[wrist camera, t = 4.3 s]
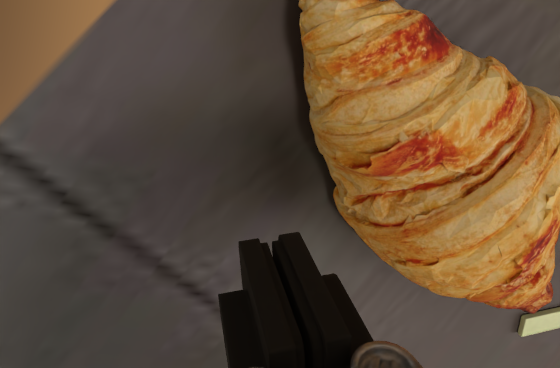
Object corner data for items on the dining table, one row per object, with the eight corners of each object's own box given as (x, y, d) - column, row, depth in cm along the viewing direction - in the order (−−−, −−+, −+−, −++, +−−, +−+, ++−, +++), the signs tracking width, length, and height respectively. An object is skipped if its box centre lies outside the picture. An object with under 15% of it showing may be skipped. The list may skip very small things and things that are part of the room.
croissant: (230, 17, 20) (172, 109, 14) (437, -156, 15) (479, -123, 9) (446, 274, 30) (464, 395, 24) (620, 221, 24) (699, 357, 19)
